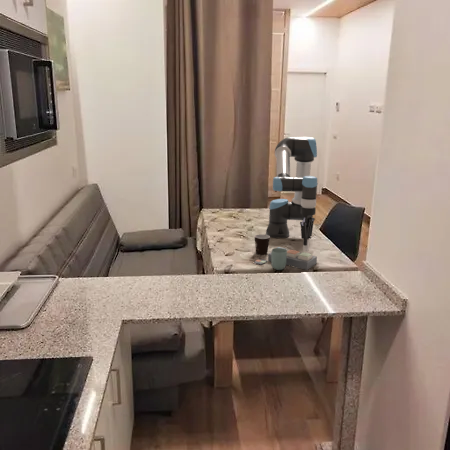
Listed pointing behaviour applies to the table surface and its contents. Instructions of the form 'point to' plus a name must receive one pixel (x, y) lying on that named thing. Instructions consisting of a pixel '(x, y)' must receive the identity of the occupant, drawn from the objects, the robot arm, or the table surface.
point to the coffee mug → (261, 244)
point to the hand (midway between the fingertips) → (305, 250)
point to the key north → (305, 256)
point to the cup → (278, 258)
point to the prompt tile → (260, 261)
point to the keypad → (299, 262)
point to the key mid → (293, 253)
